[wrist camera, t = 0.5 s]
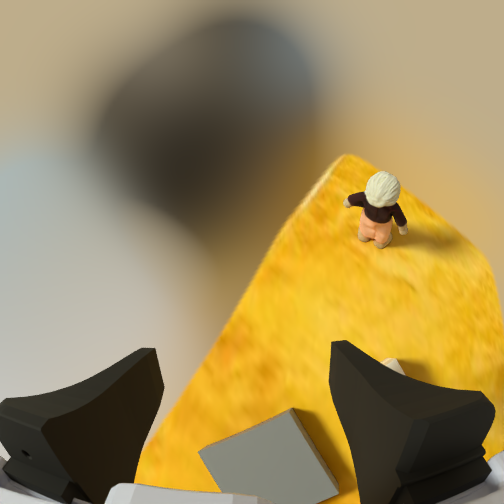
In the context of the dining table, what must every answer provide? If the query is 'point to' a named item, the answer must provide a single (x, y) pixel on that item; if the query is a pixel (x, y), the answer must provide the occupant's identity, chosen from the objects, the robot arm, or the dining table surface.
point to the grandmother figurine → (379, 209)
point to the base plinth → (271, 463)
